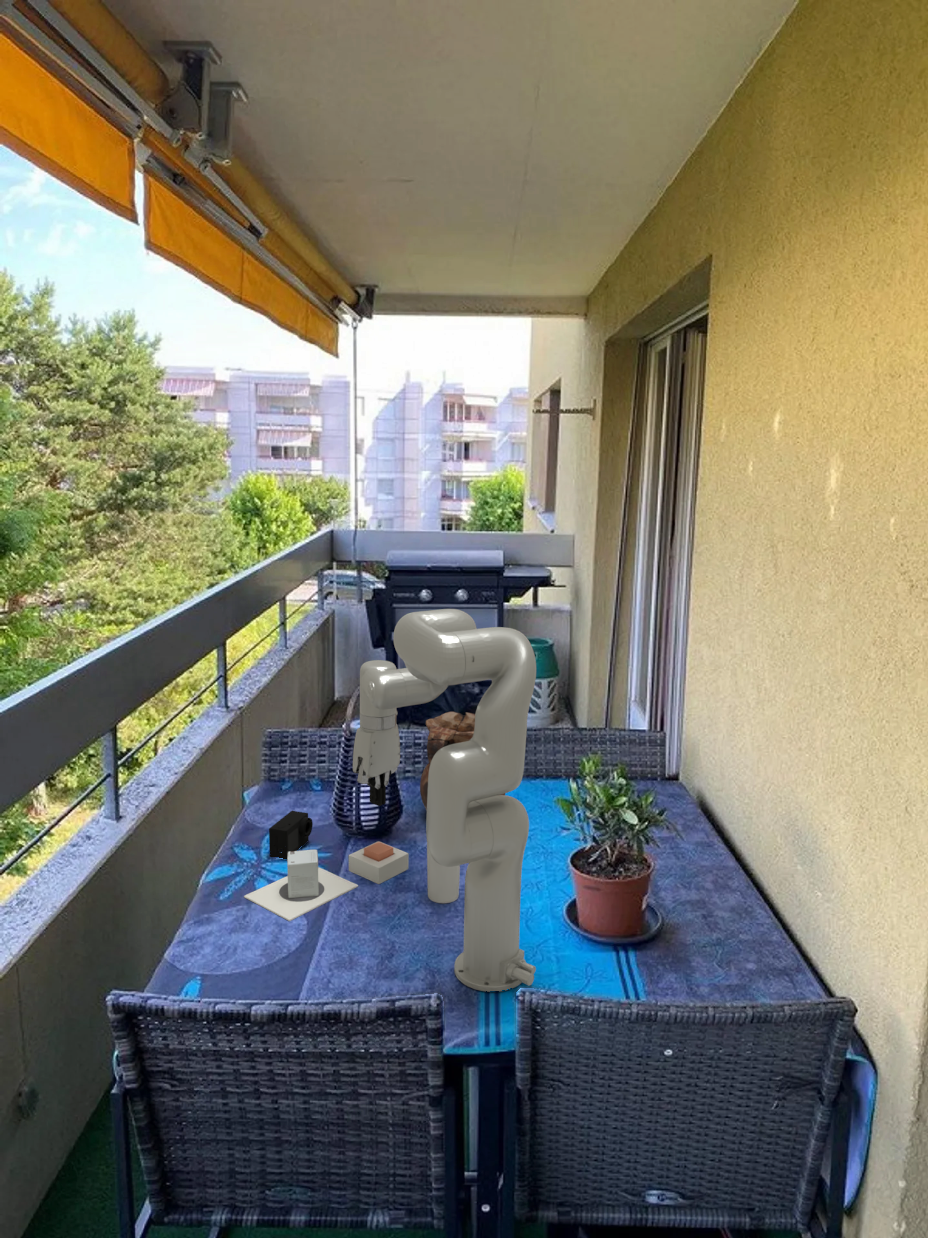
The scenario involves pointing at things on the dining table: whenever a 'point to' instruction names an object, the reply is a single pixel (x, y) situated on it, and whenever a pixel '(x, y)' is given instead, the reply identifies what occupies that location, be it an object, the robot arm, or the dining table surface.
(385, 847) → the button
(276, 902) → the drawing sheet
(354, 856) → the button housing
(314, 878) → the skincare box
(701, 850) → the dining table surface
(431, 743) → the jug
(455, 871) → the mug
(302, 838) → the digital camera
